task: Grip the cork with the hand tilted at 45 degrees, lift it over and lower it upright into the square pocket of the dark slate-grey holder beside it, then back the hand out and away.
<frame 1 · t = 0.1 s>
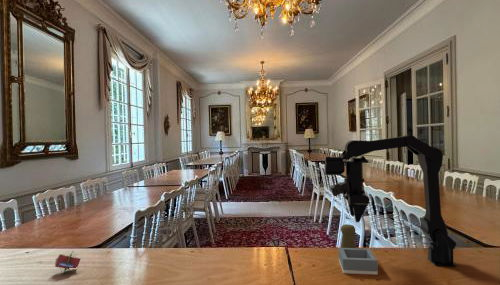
hand: (355, 218, 109), 15 cm above the table, tool pointing down, fingers open, 9 cm apart
cork: (348, 254, 114), on the table
geometric puzzle: (68, 272, 105), on the table
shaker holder: (357, 267, 103), on the table
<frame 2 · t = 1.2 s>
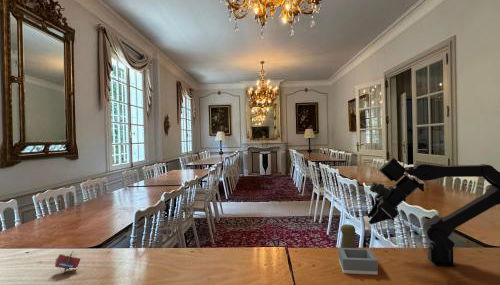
hand: (368, 219, 112), 13 cm above the table, tool tilted 45°, fingers open, 9 cm apart
nothing on the table moved.
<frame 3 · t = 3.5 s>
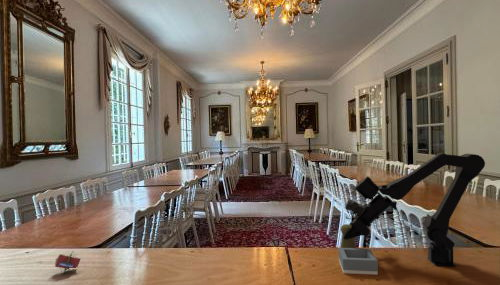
hand: (344, 236, 114), 7 cm above the table, tool tilted 45°, fingers closed on cork, 5 cm apart
cork: (348, 254, 114), on the table, touching gripper
everything else where it was.
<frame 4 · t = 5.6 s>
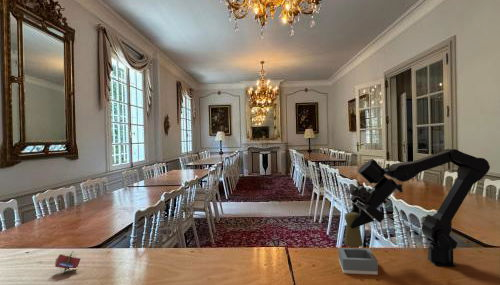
hand: (348, 225, 106), 13 cm above the table, tool tilted 45°, fingers closed on cork, 5 cm apart
cork: (353, 244, 106), point 6 cm above the table, touching gripper
everything else where it was.
when the fingers open (8 cm above the table, at t = 7.8 s): cork stays where it is, resting on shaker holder.
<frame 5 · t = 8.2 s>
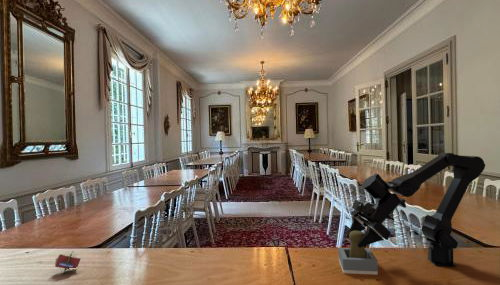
hand: (352, 241, 102), 9 cm above the table, tool tilted 45°, fingers open, 9 cm apart
cork: (357, 264, 103), point 1 cm above the table, touching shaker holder
everything else where it was.
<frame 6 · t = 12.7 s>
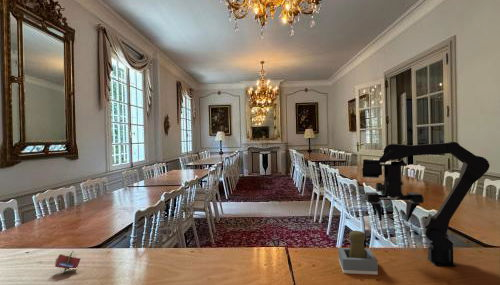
hand: (393, 221, 111), 13 cm above the table, tool pointing down, fingers open, 9 cm apart
nothing on the table moved.
at the end: cork 0.2 cm off-centre on the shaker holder, point 0.8 cm above the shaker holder's base; cork tilted 0°; the gripper is holding nothing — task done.
